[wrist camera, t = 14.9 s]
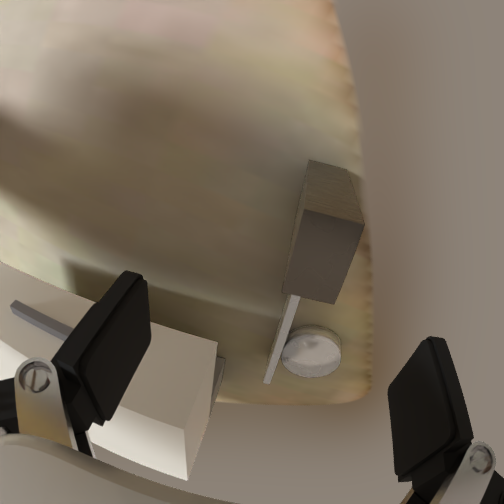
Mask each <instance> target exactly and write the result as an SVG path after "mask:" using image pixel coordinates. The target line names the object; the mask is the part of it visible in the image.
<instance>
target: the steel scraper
mask: <svg viewBox="0 0 504 504" xmlns="http://www.w3.org/2000/svg"><path fill="white" fill-rule="evenodd" d="M364 226H365V224H364V220H363V217H362V214H361V211H360V207H359V204H358V201H357V198H356V195H355V192H354V189H353V186H352V183H351V180H350V177H349V174H348V171H347V170H346V169H343V168H339V167H335V166H331V165H327V164H324V163H320V162H316V161H311V160H309V163H308V167H307V172H306V176H305V180H304V184H303V188H302V193H301V197H300V201H299V205H298V209H297V213H296V217H295V223H294V229H293V234H292V240H291V246H290V251H289V257H288V262H287V267H286V273H285V278H284V283H283V288H282V292H283V293H287V294H288V296H287V299H286V303H285V306H284V309H283V312H282V316H281V319H280V322H279V325H278V329H277V332H276V335H275V338H274V341H273V345H272V348H271V351H270V354H269V357H268V361H267V366H266V371H265V375H264V380H263V383H265V384H270V382H271V379H272V377H273V374H274V371H275V369H276V366H277V363H278V361H279V358H280V355H281V352H282V350H283V347H284V344H285V341H286V338H287V336H288V333H289V330H290V327H291V324H292V321H293V318H294V315H295V312H296V309H297V306H298V303H299V300H300V297H304V298H308V299H312V300H317V301H321V302H325V303H330V304H335V301H336V299H337V297H338V294H339V292H340V289H341V287H342V284H343V282H344V279H345V277H346V274H347V272H348V269H349V266H350V264H351V261H352V259H353V256H354V253H355V251H356V248H357V245H358V242H359V240H360V237H361V234H362V231H363V228H364Z"/></svg>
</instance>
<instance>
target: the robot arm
mask: <svg viewBox="0 0 504 504" xmlns="http://www.w3.org/2000/svg"><path fill="white" fill-rule="evenodd" d="M151 337H152V335H151V325H150V313H149V301H148V286H147V281H146V280H143V276H142V275H141V274H137V273H134V272H130V271H127V270H126V271H124V272H123V273H122V274H121V275H120V276H119V278H118V279H117V280H116V281H115V283H114V284H113V285H112V286H111V288H110V289H109V290H108V291H107V292H106V294H105V295H104V296H103V298H102V299H101V300H100V301H99V302H97V303H94V304H93V305H92V306H91V308H90V309H89V310H88V311H87V313H86V314H85V315H84V316H83V318H82V319H81V320H80V322H79V323H78V324H77V326H76V327H75V328H74V330H73V331H72V332H71V334H70V335H69V336H68V338H67V339H66V340H65V342H64V343H63V344H62V346H61V347H60V348H59V350H58V351H57V353H56V354H55V355H54V357H53V358H52V360H51V361H49V360H47V359H45V358H41V357H33V358H30V359H27V360H26V361H24V362H23V363H22V364H21V365H20V366H19V367H18V368H17V371H16V373H15V377H13V378H9V379H4V380H0V504H238V503H233V502H228V501H223V500H219V499H214V498H210V497H206V496H202V495H198V494H194V493H190V492H186V491H183V490H180V489H176V488H173V487H169V486H166V485H163V484H160V483H157V482H154V481H151V480H148V479H146V478H143V477H140V476H137V475H135V474H132V473H129V472H127V471H124V470H121V469H119V468H116V467H114V466H111V465H109V464H107V463H104V462H102V461H100V460H97V459H96V456H95V453H94V450H93V447H92V444H91V440H90V437H89V434H88V430H89V429H90V427H91V425H92V423H95V424H97V425H100V426H102V427H103V425H104V423H105V421H110V420H111V419H112V417H113V415H114V413H115V411H116V409H117V407H118V405H119V403H120V401H121V399H122V397H123V395H124V393H125V391H126V389H127V387H128V385H129V383H130V382H131V380H132V378H133V376H134V374H135V372H136V370H137V368H138V366H139V364H140V362H141V360H142V358H143V357H144V355H145V353H146V351H147V349H148V347H149V345H150V342H151ZM388 401H389V410H390V419H391V429H392V439H393V440H392V441H393V454H394V469H395V474H396V475H398V482H409V481H412V488H411V489H410V491H409V492H408V493H407V495H406V496H405V498H404V499H403V500H402V502H401V503H400V504H504V478H503V477H501V476H500V475H499V474H498V473H497V472H496V471H495V470H494V469H495V465H496V458H495V454H494V452H493V450H492V448H491V447H490V446H489V445H488V444H486V443H484V442H480V441H478V442H475V443H473V444H472V443H471V440H472V439H473V438H474V437H473V432H472V427H471V423H470V419H469V415H468V411H467V407H466V404H465V400H464V396H463V393H462V389H461V386H460V383H459V379H458V376H457V373H456V370H455V367H454V364H453V361H452V358H451V355H450V352H449V349H448V346H447V344H446V341H445V339H443V338H439V337H432V336H430V337H428V338H427V339H426V340H423V341H422V342H421V343H420V345H419V346H418V348H417V349H416V350H415V352H414V353H413V355H412V356H411V357H410V359H409V360H408V362H407V363H406V364H405V366H404V367H403V368H402V370H401V371H400V372H399V374H398V375H397V377H396V378H395V379H394V380H393V382H392V383H391V384H390V386H389V388H388Z"/></svg>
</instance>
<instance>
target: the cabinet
mask: <svg viewBox="0 0 504 504" xmlns="http://www.w3.org/2000/svg"><path fill="white" fill-rule="evenodd" d="M94 303H96V302H93V301H91V300H88V299H86V298H83V297H81V296H78V295H76V294H73V293H71V292H68V291H66V290H63V289H61V288H58V287H56V286H54V285H51V284H49V283H47V282H44V281H42V280H40V279H38V278H35V277H33V276H31V275H29V274H26V273H24V272H22V271H20V270H18V269H16V268H13V267H11V266H9V265H7V264H5V263H3V262H1V261H0V380H4V379H9V378H13V377H15V373H16V371H17V368H18V367H19V366H20V365H21V364H22V363H23V362H24V361H26V360H27V359H30V358H33V357H41V358H45V359H47V360H49V361H51V360H52V358H53V357H54V355H55V354H56V353H57V351H58V350H59V348H60V347H61V346H62V344H63V343H64V342H65V340H66V339H67V338H68V336H69V335H70V334H71V332H72V331H73V330H74V328H75V327H76V326H77V324H78V323H79V322H80V320H81V319H82V318H83V316H84V315H85V314H86V313H87V311H88V310H89V309H90V308H91V306H92V305H93V304H94ZM150 325H151V335H152V337H151V342H150V345H149V347H148V349H147V351H146V353H145V355H144V357H143V358H142V360H141V362H140V364H139V366H138V368H137V370H136V372H135V374H134V376H133V378H132V380H131V382H130V383H129V385H128V387H127V389H126V391H125V393H124V395H123V397H122V399H121V401H120V403H119V405H118V407H117V409H116V411H115V413H114V415H113V417H112V419H111V420H110V421H105V423H104V425H103V427H102V426H100V425H97V424H95V423H92V425H91V427H90V429H89V430H88V434H89V437H90V440H91V442H93V443H95V444H97V445H99V446H101V447H103V448H105V449H107V450H109V451H112V452H114V453H116V454H118V455H120V456H123V457H125V458H128V459H130V460H132V461H134V462H137V463H140V464H142V465H144V466H147V467H150V468H152V469H155V470H158V471H160V472H163V473H166V474H169V475H172V476H175V477H178V478H181V479H184V480H187V481H188V478H189V475H190V473H191V470H192V467H193V464H194V461H195V458H196V455H197V452H198V450H199V446H200V444H201V441H202V438H203V435H204V432H205V429H206V426H207V423H208V420H209V417H210V414H211V411H212V408H213V406H214V403H215V400H216V397H217V394H218V391H219V388H220V385H221V382H222V376H223V370H224V363H225V359H224V358H221V357H217V356H216V352H217V344H218V342H215V341H212V340H208V339H205V338H201V337H198V336H194V335H191V334H188V333H184V332H181V331H178V330H175V329H171V328H168V327H165V326H162V325H159V324H156V323H153V322H150Z"/></svg>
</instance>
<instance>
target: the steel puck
mask: <svg viewBox="0 0 504 504" xmlns="http://www.w3.org/2000/svg"><path fill="white" fill-rule="evenodd" d="M281 360H282V363H283V365H284V366H285V368H286V369H288V370H289V371H290V372H292V373H294V374H296V375H299V376H302V377H310V378H314V377H322V376H325V375H328V374H330V373H332V372H333V371H335V370H336V369H337V368H338V366H339V364H340V362H341V342H340V339H339V337H338V336H337V335H336V334H335V333H334V332H333V331H331V330H330V329H327V328H325V327H321V326H314V325H310V326H303V327H299V328H296V329H294V330H293V331H291V332H290V333H289V334H288V336H287V338H286V341H285V344H284V347H283V350H282V355H281Z"/></svg>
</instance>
